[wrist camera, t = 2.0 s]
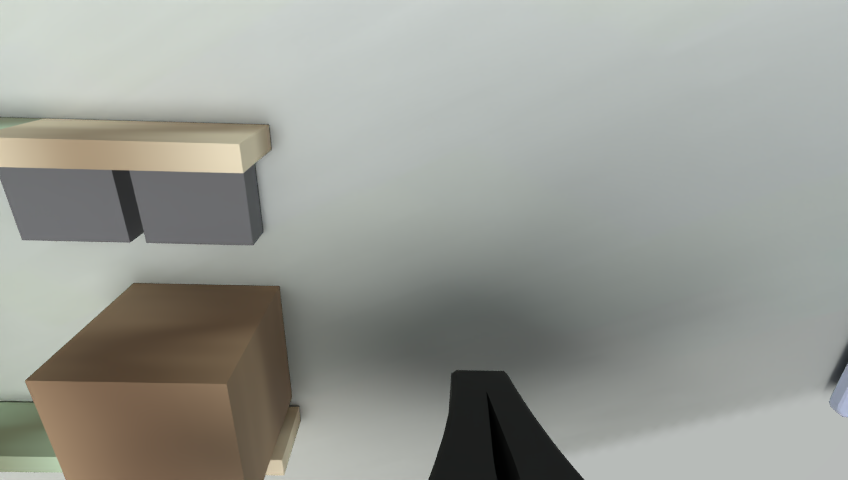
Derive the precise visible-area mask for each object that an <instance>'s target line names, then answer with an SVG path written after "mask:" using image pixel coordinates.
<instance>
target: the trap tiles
mask: <svg viewBox="0 0 848 480" xmlns="http://www.w3.org/2000/svg"><path fill="white" fill-rule="evenodd" d="M0 180H1V182H2V185H3V188H4V191H5V194H6V196H7V199H8V202H9V205H10V207H11V210H12V213H13V216H14V218H15V221H16V224H17V227H18V230H19V232H20V235H21V238H22V240H42V241H86V242H131V241H133V240H134V239H135V238H137V237H138V236H139V235H141V234H142V233H143V232H144V234H145V238H146V243H175V244H219V245H254V244H255V242H256V241H257V240H258V238H259V237H260V236H261V234H262V233H263V228H262V220H261V212H260V204H259V196H258V188H257V179H256V171H255V164H254V165H252V166H251V167H250V168H249V169H248V170H246V171H245V172H244V173H213V172H174V171H135V170H96V169H57V168H18V167H0Z"/></svg>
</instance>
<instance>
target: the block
mask: <svg viewBox="0 0 848 480" xmlns="http://www.w3.org/2000/svg"><path fill="white" fill-rule="evenodd" d="M25 382H26V385H27V387H28V389H29V392H30V394H31V397H32V399H33V402H34V404H35V406H36V409H37V411H38V414H39V416H40V418H41V421H42V423H43V426H44V428H45V431H46V433H47V435H48V438H49V440H50V443H51V445H52V447H53V450H54V452H55V455H56V457H57V460H58V462H59V464H60V467H61V469H62V472H63V474H64V476H65V479H66V480H264V477H265V474H266V471H267V468H268V465H269V462H270V460H271V457H272V454H273V451H274V448H275V445H276V442H277V439H278V436H279V433H280V431H281V428H282V425H283V422H284V419H285V416H286V413H287V410H288V407H289V404H290V402H291V399H292V392H291V383H290V374H289V366H288V357H287V348H286V339H285V331H284V322H283V313H282V304H281V296H280V287H279V286H249V285H201V284H153V283H133V284H132V285H131V286H130V287H129V288H128V289H127V290H125V291H124V292H123V293H122V294H121V295H120V296H119V297H118V298H117V299H115V300H114V301H113V302H112V303H111V304H110V305H109V306H108V307H107V308H105V309H104V310H103V311H102V312H101V313H100V314H99V315H98V316H96V317H95V318H94V319H93V320H92V321H91V322H90V323H89V324H88V325H86V326H85V327H84V328H83V329H82V330H81V331H80V332H79V333H78V334H76V335H75V336H74V337H73V338H72V339H71V340H70V341H69V342H68V343H66V344H65V345H64V346H63V347H62V348H61V349H60V350H59V351H57V352H56V353H55V354H54V355H53V356H52V357H51V358H50V359H49V360H47V361H46V362H45V363H44V364H43V365H42V366H41V367H40V368H39V369H37V370H36V371H35V372H34V373H33V374H32V375H31V376H30V377H28V378H27V379H26V380H25Z"/></svg>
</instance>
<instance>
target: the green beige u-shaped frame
mask: <svg viewBox="0 0 848 480" xmlns="http://www.w3.org/2000/svg"><path fill="white" fill-rule="evenodd" d="M270 150H271V141H270V132H269V125H262V124H226V123H190V122H153V121H117V120H81V119H45V118H9V117H0V167H18V168H57V169H96V170H135V171H174V172H213V173H244V172H245V171H246V170H248V169H249V168H250V167H251V166H252V165H254V164H255V163H256V162H257V161H258V160H260V159H261V158H262V157H263V156H264V155H266V154H267V153H268V152H269V151H270ZM300 421H301V420H300V411H299V407H288V410H287V413H286V416H285V419H284V422H283V425H282V428H281V431H280V433H279V436H278V439H277V442H276V445H275V448H274V451H273V454H272V457H271V460H270V462H269V465H268V468H267V471H266V474H265V475H284V474H285V471H286V468H287V464H288V461H289V458H290V454H291V451H292V448H293V444H294V441H295V438H296V434H297V431H298V428H299V424H300ZM0 472H61V473H63V472H62V469H61V467H60V464H59V462H58V460H57V457H56V455H55V452H54V450H53V447H52V445H51V443H50V440H49V438H48V435H47V433H46V431H45V428H44V426H43V423H42V421H41V418H40V416H39V414H38V411H37V409H36V406H35V404H34V403H31V402H0Z"/></svg>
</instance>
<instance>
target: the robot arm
mask: <svg viewBox="0 0 848 480" xmlns="http://www.w3.org/2000/svg"><path fill="white" fill-rule="evenodd" d="M829 403H830V406H831V407H832V408H833V409H834V410H835V411H836V412H837V413H838V414H840V415H841V416H842V417H848V364H847V366H846V367H845V369H844V371H843V373H842V375H841V377H840V379H839V381H838V383H837V385H836V387H835V389H834V391H833V393H832V395H831V398H830V401H829ZM429 480H584V479H583V478H582V477H581V475H580V474H579V473H578V472H577V471H576V470H575V469H574V467H573V466H572V465H571V464H570V462H569V461H568V460H567V459H566V458H565V456H564V455H563V454H562V453H561V452H560V450H559V449H558V448H557V446H556V445H555V444H554V443H553V441H552V440H551V439H550V437H549V436H548V435H547V433H546V432H545V430H544V429H543V428H542V426H541V425H540V424H539V422H538V421H537V420H536V418H535V417H534V415H533V414H532V412H531V411H530V409H529V408H528V407H527V405H526V404H525V402H524V401H523V399H522V397H521V396H520V394H519V393H518V391H517V390H516V388H515V386H514V385H513V383H512V381H511V380H510V378H509V376H508V375H507V374H506V373H505V372H504V371H468V370H456V371H455V372H453V373H452V374H451V387H450V402H449V414H448V418H447V423H446V427H445V431H444V435H443V438H442V442H441V445H440V448H439V451H438V454H437V457H436V460H435V463H434V466H433V469H432V472H431V474H430V477H429Z"/></svg>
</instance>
